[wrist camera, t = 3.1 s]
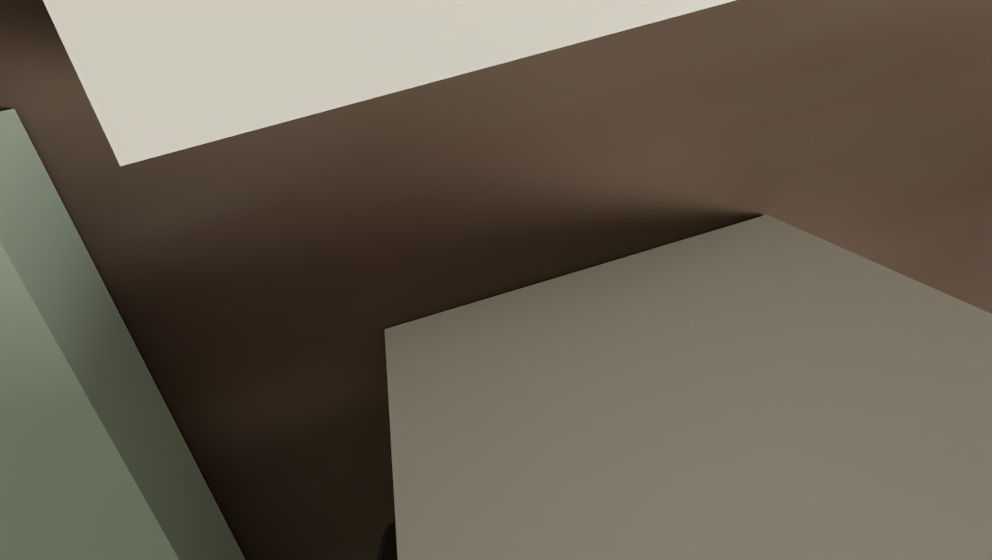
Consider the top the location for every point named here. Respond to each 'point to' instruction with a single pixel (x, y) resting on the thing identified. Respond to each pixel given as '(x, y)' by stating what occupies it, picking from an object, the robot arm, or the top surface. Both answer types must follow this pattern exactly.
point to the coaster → (82, 401)
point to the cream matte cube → (698, 412)
